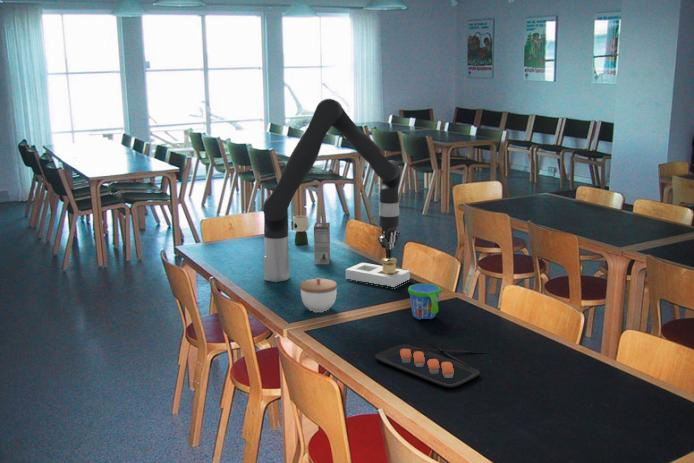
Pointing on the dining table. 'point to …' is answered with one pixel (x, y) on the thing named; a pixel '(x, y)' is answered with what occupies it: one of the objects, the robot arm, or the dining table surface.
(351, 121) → the robot arm
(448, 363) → the sushi plate
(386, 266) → the gold piece
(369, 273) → the frame
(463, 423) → the dining table surface
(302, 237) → the character mug
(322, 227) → the coffee box
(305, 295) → the lidded bowl
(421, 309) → the snack cup
